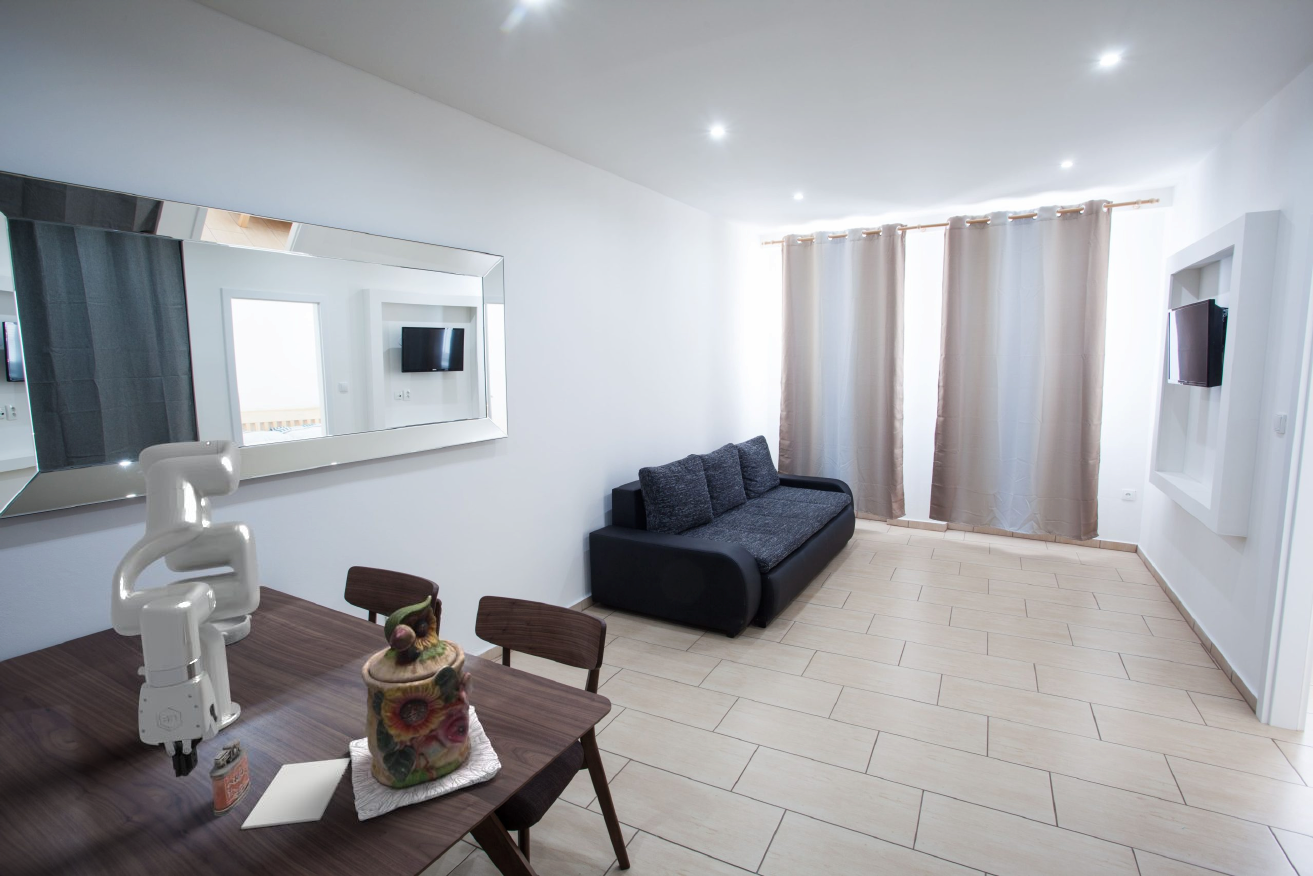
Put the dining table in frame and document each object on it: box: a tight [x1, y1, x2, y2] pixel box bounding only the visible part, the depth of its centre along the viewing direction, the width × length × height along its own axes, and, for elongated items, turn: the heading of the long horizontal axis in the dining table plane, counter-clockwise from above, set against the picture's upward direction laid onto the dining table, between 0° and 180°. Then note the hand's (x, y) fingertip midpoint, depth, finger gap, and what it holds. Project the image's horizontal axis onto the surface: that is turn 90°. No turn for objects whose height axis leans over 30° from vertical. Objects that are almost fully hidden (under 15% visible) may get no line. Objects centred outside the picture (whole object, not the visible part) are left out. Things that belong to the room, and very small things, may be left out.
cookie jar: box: [348, 595, 502, 822], centre depth 117 cm, size 25×25×32 cm
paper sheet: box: [240, 757, 352, 830], centre depth 111 cm, size 12×16×1 cm
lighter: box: [209, 738, 252, 817], centre depth 109 cm, size 8×3×10 cm, turn 5°
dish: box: [209, 614, 253, 646], centre depth 174 cm, size 14×14×5 cm
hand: (186, 771), depth 107 cm, fingers closed
